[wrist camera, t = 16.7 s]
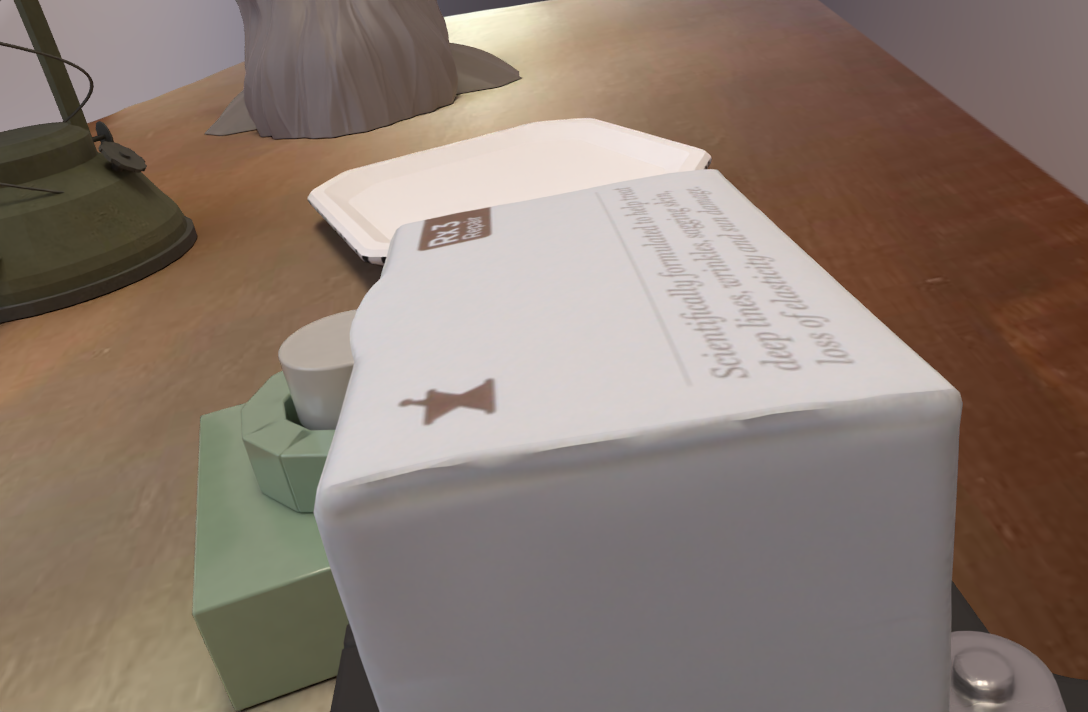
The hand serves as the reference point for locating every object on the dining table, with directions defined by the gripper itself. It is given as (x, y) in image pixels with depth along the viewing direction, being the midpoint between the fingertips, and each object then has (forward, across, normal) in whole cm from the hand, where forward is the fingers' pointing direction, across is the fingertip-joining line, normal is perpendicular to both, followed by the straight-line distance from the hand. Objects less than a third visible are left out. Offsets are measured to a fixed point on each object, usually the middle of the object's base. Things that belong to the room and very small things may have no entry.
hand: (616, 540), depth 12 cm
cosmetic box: (-3, 0, +7) cm, 8 cm away
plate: (+42, +2, +8) cm, 43 cm away
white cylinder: (+12, +6, +3) cm, 14 cm away
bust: (+89, +16, +7) cm, 91 cm away
